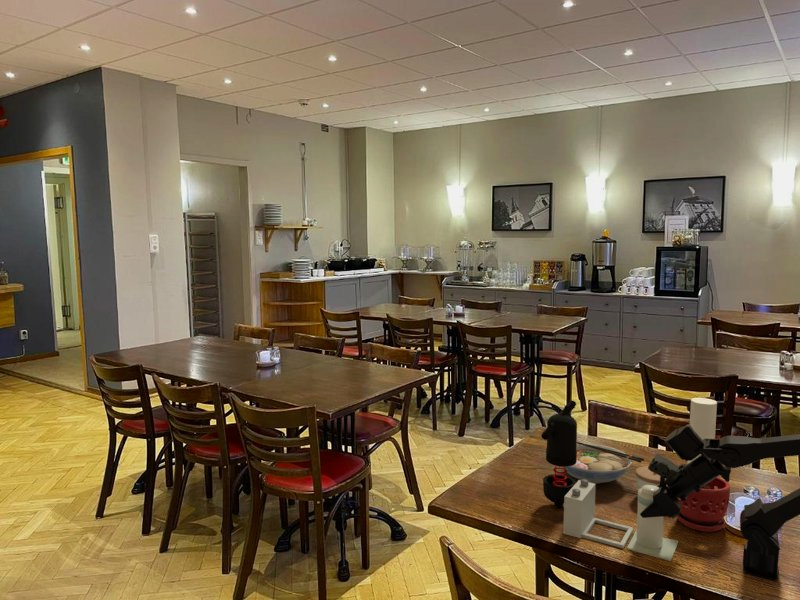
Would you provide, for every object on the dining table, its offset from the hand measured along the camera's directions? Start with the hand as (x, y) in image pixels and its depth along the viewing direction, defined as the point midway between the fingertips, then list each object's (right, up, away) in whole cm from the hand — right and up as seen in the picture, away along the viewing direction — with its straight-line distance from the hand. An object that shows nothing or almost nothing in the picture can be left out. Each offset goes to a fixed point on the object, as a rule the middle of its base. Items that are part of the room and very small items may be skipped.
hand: (644, 508), depth 150 cm
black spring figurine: (-17, -7, +20) cm, 27 cm away
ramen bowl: (0, -5, +39) cm, 40 cm away
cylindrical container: (+33, -4, +39) cm, 51 cm away
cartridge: (+1, -9, 0) cm, 9 cm away
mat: (+2, -9, 0) cm, 9 cm away
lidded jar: (+13, -6, +26) cm, 29 cm away
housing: (-9, -8, +7) cm, 14 cm away
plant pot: (+19, -8, +11) cm, 23 cm away
